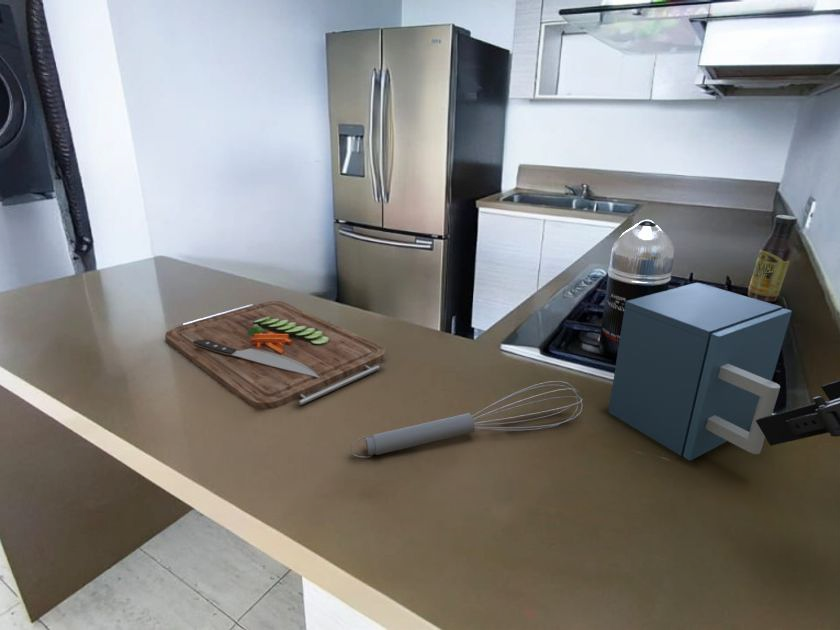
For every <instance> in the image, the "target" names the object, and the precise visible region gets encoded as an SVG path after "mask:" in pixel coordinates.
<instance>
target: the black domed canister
mask: <svg viewBox="0 0 840 630" xmlns="http://www.w3.org/2000/svg"><path fill="white" fill-rule="evenodd" d="M674 247H675V246H674V244H673V242H672V240H671V239H670V237H669V236H668V235H667V234H666V232H665V231H664V230H663V229H661V228H660V227H659V226H658V225H657V224H656V223H655V222H654V221H652V220H650V219H645V220H641V221H640V222H639V223H636V224H635V225H634V226H632V227H630V228H629V229H627V230H625V231H624V232H623V233H622V234H621V235H620V236H619V237H618V238H616V240H615V242H614V243H613V245H612V248H611V254H610V260H609V261H610V262H609V266H608V270H607V275H608V277H607V283H606V291H605V298H604V304H603V305H604V306H603V312H602V319H601V327H600V333H599V341H598V347H599V349H600V351H601V352H602V353H603V354H604V355H605V356H606V357H608V358H610V359H613V360H614V361H616V360H617V354H618V348H619V341H620V335H621V329H622V322H623V316H624V310H625V303H626V301H629V300H632V299H636V298H640V297H644V296H648V295H651V294H655V293H659V292H663V291H667V290H669V285H670V284H669V283H670V282H671V281H672V272H673V267H674V262H675V261H674V260H675V253H676V252H675V248H674Z"/></svg>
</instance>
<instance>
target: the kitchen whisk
mask: <svg viewBox="0 0 840 630" xmlns="http://www.w3.org/2000/svg"><path fill="white" fill-rule="evenodd" d="M548 383H563V384H567V385H568V386H570V387H571V388H570V387H568V386H567V385H561V384H548ZM552 386H553V387H554V386H557V387H563V388H559V389H555V390H551V391H547V392H543V393H540V394H537V395H533V396H529V397H527V398H523V399H521V400H517V401H515V402H512V403H509V404H506V405H503V406H501V407H498V408H496V409H493V410H491V411H489V412H488V411H487V412H486V413H484V414H481V415H479V416H477V415H478V414H480V413H482V412H484V411H486V410H488V409H489V408H492V407H493V406H495V405H497V404H499V403H501V402H504V401H506V400H507V399H509V398H512V397H514V396H517V395H519V394H522V393H524V392H528V391H531V390H534V389H539V388H543V387H552ZM566 390H570V391H572V392H573V393H574V394H575V396H574V395H571V396H570V395H564V396H557V397H550V398H549V397H548V398H544V399H539V400H535V401H532V402H527V403H524V404H520V405H516V406H513V407H509V406H512V405H514V404H518V403H520V402H523V401H526V400H529V399H533V398H535V397H539V396H542V395H546V394H549V393H554V392H558V391H566ZM577 393H578V394H577ZM559 398H560V399H561V398H576V399H575V401H574V402H573V403H572V404H568V405H565V406H561V407H558V408H553V409H547V410H543V411H538V412H532V413H525V414H522V415H515V416H510V417H503V418H497V419H490V420H484V421H478V420H480V419H483V418H486V417H489V416H493V415H496V414H498V413H502V412H506V411H509V410H513V409H515V408H519V407H522V406H526V405H530V404H535V403H539V402H542V401H547V400H553V399H559ZM583 400H584V399H583V398H582V397H580V391H579V390H578V389H576V388H575V387H573V385H571V384H570V383H569V382H565V381H561V380H554V381H553V380H551V381H550V380H549V381H545V382H541V383H537V384H533V385H531V386H527V387H525V388H523V389H521V390H518V391H516V392H513V393H512V394H510V395H507V396H505V397H503V398H500V399H499V400H497V401H496V402H494V403H492V404H490V405H488V406H487V407H485V408H483V409H481V410H480V411H478V412H476V413H474V414H473V415H472V414H471V413H470V412H467V413H463V414H459V415H454V416H450V417H445V418H441V419H436V420H432V421H428V422H423V423H418V424H415V425H411V426H405V427H402V428H397V429H391V430H387V431H384V432H379V433H375V434H372V435H371V436H368V435H364V436H362V437H360V438H358V439H357V440H355V441H354V442H353V443H352V444H351V446H350V453H351V454H352V455H353V456H355V457H357V458H371V457H372V456H373V455H376V456H379V455H383V454H388V453H392V452H396V451H401V450H404V449H408V448H409V449H410V448H412V447H416V446H421V445H426V444H429V443H434V442H438V441H442V440H447V439H450V438H455V437H459V436H463V435H464V436H465V435H467V434H471V433H472V434H473V433H474V432H475V430H476V429H478V430H487V431H489V430H490V431H508V432H509V431H515V432H516V431H517V432H518V431H520V432H521V431H534V430H539V429H540V430H541V429H542V428H544V429H547V428H552V427H557V426H559V425H561V424H563V423H564V424H565V423H567V422H569V421H571V420H574V419H576V418H577V417H578V416H579V415H580V414H581V413H582V410H583V407H584V405H583V402H582V401H583ZM579 404H581V407H580V411H579V413H577V414H576V412H577V411H578V408H579ZM575 405H576V408H575V410H574V412H573V414H572V415H571V416H569V417H568V418H567V419H566V420H564V421H560V422H556V423H552V424H544V425H534V426H521V427H520V426H516V427H515V426H509V427H508V426H507V427H505V426H504V427H502V426H501V427H499V426H498V427H497V426H493V425H506V424H515V423H521V422H527V421H528V422H529V421H533V420H537V419H538V417H536V418H530V419H524V420H518V421H517V420H516V421H508V422H497V423H491V422H495V421H502V420H509V419H514V418H520V417H526V416H531V415H536V414H537V415H538V414H542V413H546V412H551V411H552V412H553V411H556V410H559V411H558V412H555V413H552V414H548V415H544V416H540V417H539V419H543V418H547V417H551V416H554V415H557V414H560V413H562V412H564V411H566V410H568V409H570V408H571V407H573V406H575ZM506 407H509V408H506ZM504 408H506V409H504ZM501 409H503V410H501ZM561 409H562V410H561ZM495 411H496V412H495ZM575 414H576V415H575ZM475 416H476V417H475ZM473 417H474V418H473ZM475 421H478V422H475ZM489 422H490V423H489ZM364 438H365V445H366V450H367V455H368V456H363V455H357V454H354V453H353V446H354V445H355V444H356V443H357V442H359V441H360V440H362V439H364Z"/></svg>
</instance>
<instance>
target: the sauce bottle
mask: <svg viewBox="0 0 840 630" xmlns="http://www.w3.org/2000/svg"><path fill="white" fill-rule="evenodd" d="M797 221H798V217H796V216H793V215H786V214H785V215H784V214H778V215H776V216H775V218H774V220H773V222H774V223H773V224H774V225H773V227H772V231H771V232H770V235H769V236H768V237H767V239H766V241H765V242H764V244H763V245H762V246H761V248H760V249H759V252H758V256H757V259H756V261H755V266H754V267H753V272H752V275H751V279H750V282H749V285H748V290H747V297H750V298H753V299H757V300H760V301H764V302H767V303H773V302H776V301H777V300H778V296H780V294H781V293H780V292H781V289H782V286H783V283H784V280H785V278H786V275H787V271H788V268H789V265H790V262H791V257H792V254H793V250H794V245H793V242H792V234H793V232H794V231H793V230H794V227H795V225H796V224H797Z"/></svg>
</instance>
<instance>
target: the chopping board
mask: <svg viewBox="0 0 840 630" xmlns="http://www.w3.org/2000/svg"><path fill="white" fill-rule="evenodd" d="M164 338H165V341H166V344H168V345H169V346H170V347H171V348H173V349H174V350H176V351H177V352H178V353H180V354H181V355H182V356H183V357H185V358H186V359H188V360H189V361H190V362H191V363H193V364H194V365H195V366H197V367H198V368H200V369H201V370H202V371H203V372H205V373H206V374H208V375H209V376H210V377H211V378H212V379H214V380H215V381H216V382H218V383H219V384H221V385H222V386H223V387H224V388H226V389H227V390H228V391H230V392H231V393H233V394H235V395H236V396H237V397H239V398H240V399H241V400H242V401H244V402H245V403H246V404H248V405H249V406H251V407H252V408H255V409H256V410H257V409H258V410H272V409H276V408H280V407H282V406H285V405H287V404H289V403H292V402H294V401H296V400H298V399H299V400H298V404H299V406H303V405H305V404H307V403H310V402H312V401H313V400H316V399H318V398H321V397H322V396H325V395H327V394H329V393H331V392H334V391H336V390H338V389H340V388H343V387H345V386H346V385H349V384H351V383H353V382H355V381H358V380H360V379H362V378H364V377H365V376H368V375H371V374H373V373H375V372H377V371H380V369H381V368H380V365H378V363H380V362H382V361H384V360H385V359H386V348H385V347H384V346H382V345H381V344H379V343H377V342H375V341H372V340H371V339H368V338H365V337H364V336H361V335H359V334H357V333H355V332H352V331H350V330H348V329H346V328H343V327H341V326H339V325H337V324H334V323H332V322H330V321H327V320H326V319H323V318H321V317H319V316H316V315H314V314H313V313H310V312H308V311H306V310H304V309H302V308H299V307H297V306H295V305H292V304H289V303H287V302H286V301H283V300H269V301H265V302H260V303H258V304H253V303H250V304H246V305H243V306H240V307H239V306H238V307H235V308H232V309H228V310H225V311H224V310H223V311H221V312H218V313H214V314H211V315H207V316H203V317H200V318H196V319H193V320H190V321H185V322H183V323H181V325H180V326H177V327H174V328H171V329H170V330H168V331H166V333H165V335H164ZM372 366H373V367H372ZM365 369H366V370H365ZM361 371H362V372H361ZM358 372H360V373H358ZM356 373H357V374H356ZM354 374H355V375H354ZM352 375H353V376H352ZM350 376H351V377H350ZM345 378H346V379H345ZM343 379H344V380H343ZM341 380H342V381H341ZM336 382H337V383H336ZM327 386H328V387H327ZM325 387H326V388H325ZM323 388H324V389H323ZM316 391H318V392H316ZM314 392H315V393H314ZM311 393H313V394H311ZM309 394H311V395H309ZM307 395H308V396H307ZM300 398H301V399H300Z"/></svg>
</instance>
